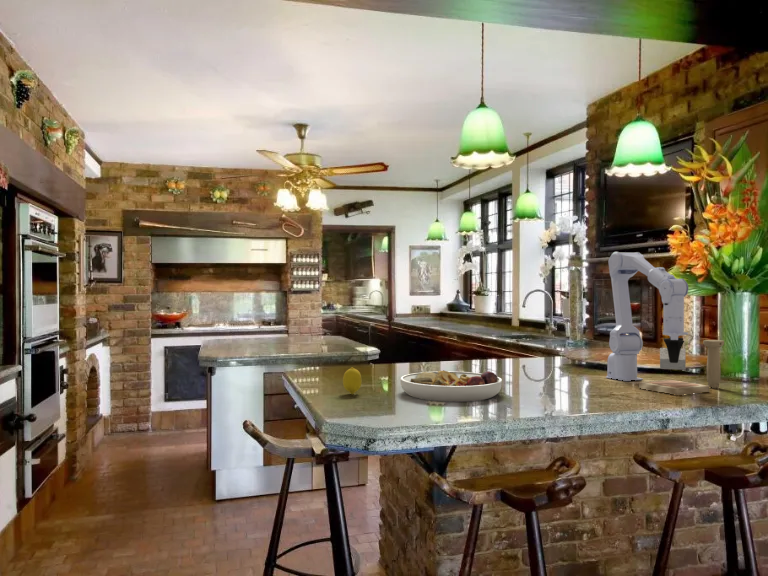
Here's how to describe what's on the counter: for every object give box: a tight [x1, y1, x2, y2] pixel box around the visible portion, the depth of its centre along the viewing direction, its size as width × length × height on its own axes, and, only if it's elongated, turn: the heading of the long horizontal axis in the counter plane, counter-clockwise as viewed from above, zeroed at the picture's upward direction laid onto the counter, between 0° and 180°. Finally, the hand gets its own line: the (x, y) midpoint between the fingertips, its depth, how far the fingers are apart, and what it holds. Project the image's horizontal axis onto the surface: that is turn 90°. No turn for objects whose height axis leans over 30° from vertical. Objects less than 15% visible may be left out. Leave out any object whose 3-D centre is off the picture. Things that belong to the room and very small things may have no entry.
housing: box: [659, 347, 687, 371], centre depth 188 cm, size 4×7×6 cm, turn 66°
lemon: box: [342, 367, 363, 395], centre depth 181 cm, size 6×6×8 cm
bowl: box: [399, 369, 503, 403], centre depth 182 cm, size 30×30×8 cm
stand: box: [638, 379, 710, 396], centre depth 188 cm, size 14×14×2 cm
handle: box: [702, 339, 725, 389], centre depth 193 cm, size 5×6×15 cm
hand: (673, 361), depth 188 cm, fingers closed on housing, 4 cm apart
